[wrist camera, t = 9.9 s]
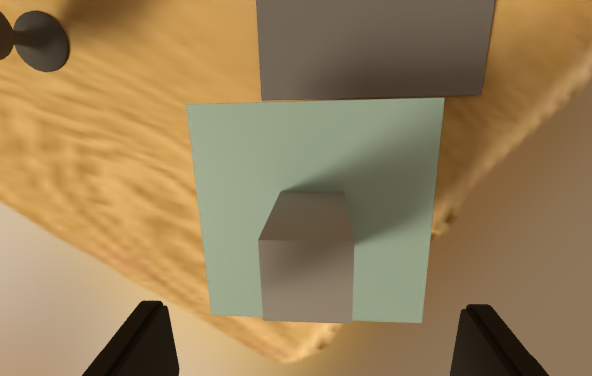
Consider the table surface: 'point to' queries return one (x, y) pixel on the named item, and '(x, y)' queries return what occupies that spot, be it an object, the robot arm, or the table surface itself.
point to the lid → (317, 206)
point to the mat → (372, 48)
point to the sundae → (35, 40)
